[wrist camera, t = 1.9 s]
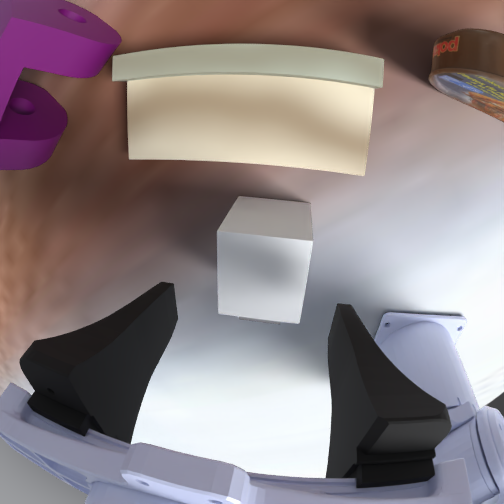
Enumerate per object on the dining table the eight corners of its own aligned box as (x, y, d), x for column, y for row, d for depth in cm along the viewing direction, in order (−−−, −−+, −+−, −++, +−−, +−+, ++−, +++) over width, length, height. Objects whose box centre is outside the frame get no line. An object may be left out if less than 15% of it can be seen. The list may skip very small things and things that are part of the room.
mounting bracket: (32, 60, 21) (64, 171, 18) (-32, 50, 14) (-43, 171, 11) (80, -14, 17) (138, 58, 14) (14, -36, 10) (11, 17, 7)
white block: (299, 281, 22) (297, 334, 17) (236, 274, 22) (218, 324, 17) (310, 202, 19) (313, 241, 14) (238, 195, 19) (217, 230, 15)
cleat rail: (359, 170, 17) (370, 184, 15) (140, 154, 19) (114, 165, 16) (370, 65, 14) (384, 59, 12) (139, 59, 16) (112, 56, 13)
